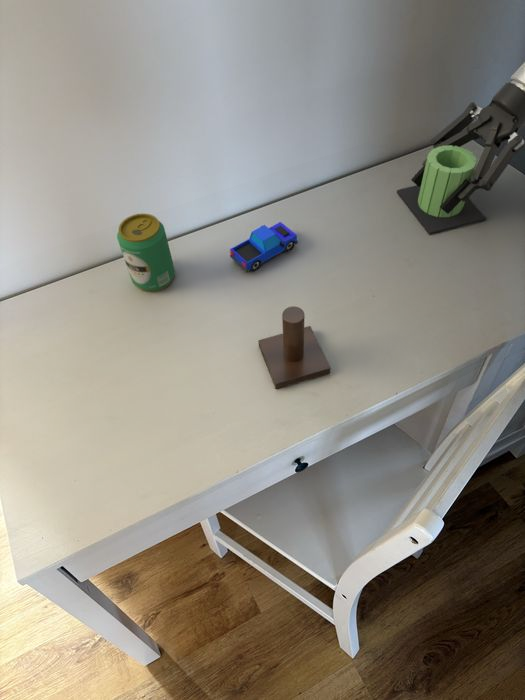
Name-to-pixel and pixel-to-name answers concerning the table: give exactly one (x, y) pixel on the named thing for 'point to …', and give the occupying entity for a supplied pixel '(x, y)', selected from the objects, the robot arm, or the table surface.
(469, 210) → the rubber mat
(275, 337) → the stacking stand
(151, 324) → the table surface
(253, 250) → the toy car
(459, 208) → the green tube
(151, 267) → the beverage can
